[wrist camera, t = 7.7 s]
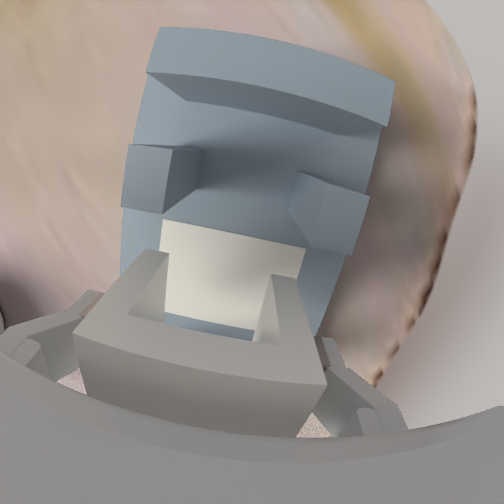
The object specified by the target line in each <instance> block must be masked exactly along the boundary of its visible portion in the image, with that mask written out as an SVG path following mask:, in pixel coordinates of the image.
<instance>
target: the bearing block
mask: <svg viewBox="0 0 504 504" xmlns="http://www.w3.org/2000/svg"><path fill="white" fill-rule="evenodd" d="M146 73H148V74H149V75H148V78H147V82H146V86H145V90H144V93H143V98H142V102H141V106H140V110H139V115H138V119H137V124H136V129H135V134H134V139H133V144H129V148H128V154H127V160H126V167H125V174H124V182H123V190H122V199H121V207H124V212H123V223H122V237H121V257H120V276H121V275H122V274H123V273H124V272H125V271H126V269H127V268H128V267H129V266H130V265H131V264H132V263H133V262H134V261H135V260H136V259H137V258H138V257H139V256H140V255H141V253H142V252H143V251H144V250H145V249H146V248H147V249H152V250H157V251H162V252H166V253H170V254H169V263H168V273H167V284H166V297H165V311H164V324H168V325H172V326H177V327H181V328H186V329H190V330H195V331H200V332H205V333H210V334H215V335H220V336H225V337H231V338H236V339H242V340H248V341H252V340H253V336H254V333H255V329H256V326H257V322H258V319H259V315H260V312H261V308H262V304H263V301H264V297H265V294H266V290H267V286H268V283H269V279H270V275H271V274H276V275H281V276H286V277H292V278H295V280H296V283H297V286H298V289H299V292H300V296H301V299H302V302H303V305H304V308H305V311H306V315H307V318H308V321H309V324H310V327H311V331H312V334H313V336H314V337H315V336H316V334H317V331H318V329H319V326H320V324H321V322H322V319H323V317H324V314H325V312H326V309H327V307H328V304H329V301H330V299H331V296H332V294H333V291H334V288H335V286H336V283H337V280H338V278H339V275H340V272H341V269H342V266H343V264H344V261H345V258H346V255H352V254H353V251H354V248H355V245H356V242H357V239H358V236H359V233H360V230H361V226H362V223H363V220H364V217H365V213H366V210H367V207H368V203H369V200H370V196H368V195H366V190H367V186H368V183H369V179H370V175H371V171H372V168H373V164H374V160H375V155H376V151H377V147H378V143H379V138H380V134H381V129H382V127H388V123H389V118H390V113H391V107H392V102H393V96H394V90H395V84H396V81H394V80H392V79H389V78H387V77H385V76H383V75H381V74H378V73H376V72H374V71H371V70H369V69H367V68H364V67H362V66H359V65H357V64H354V63H351V62H349V61H346V60H343V59H341V58H338V57H335V56H332V55H329V54H326V53H323V52H319V51H316V50H313V49H309V48H306V47H302V46H299V45H295V44H291V43H287V42H283V41H278V40H274V39H269V38H264V37H259V36H254V35H248V34H242V33H235V32H227V31H219V30H210V29H198V28H179V27H160V29H159V32H158V35H157V38H156V41H155V44H154V47H153V50H152V53H151V56H150V59H149V62H148V66H147V69H146Z"/></svg>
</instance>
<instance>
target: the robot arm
mask: <svg viewBox="0 0 504 504" xmlns="http://www.w3.org/2000/svg"><path fill="white" fill-rule="evenodd" d="M104 294H105V293H101V292H98V291H95V290H92V289H90V290H87V291H86V292H85V293H84V294H83V295H82V296H81V297H80V298H79V299H78V300H77V301H76V302H75V303H74V305H73V306H72V307H71V308H70V309H69V310H68V311H67V312H66V311H64V310H63V311H60V312H56V313H53V314H50V315H46V316H43V317H40V318H36V319H33V320H30V321H26V322H23V323H20V324H16V325H13V326H10V327H8V328H7V329H6V330H5V331H4V332H3V333H2V334H1V335H0V504H504V406H497V407H494V408H491V409H489V410H486V411H483V412H480V413H477V414H473V415H470V416H467V417H463V418H460V419H456V420H453V421H448V422H445V423H440V424H436V425H431V426H426V427H421V428H416V429H411V430H408V428H407V426H406V423H405V421H404V419H403V417H402V414H401V412H400V410H399V408H398V406H397V405H396V404H395V403H394V402H392V401H391V400H389V399H388V398H387V397H386V396H384V395H383V394H382V393H381V392H379V391H378V390H377V389H375V388H374V387H373V386H372V385H370V384H369V383H368V382H366V381H365V380H364V379H363V378H361V377H360V376H359V375H358V374H356V373H355V372H354V371H352V370H351V369H350V368H346V367H345V364H344V362H343V359H342V357H341V354H340V352H339V349H338V347H337V344H336V342H335V340H334V339H333V338H329V337H314V336H313V337H314V341H315V344H316V347H317V351H318V354H319V357H320V361H321V364H322V368H323V371H324V374H325V378H326V381H327V387H326V389H325V390H324V392H323V394H322V396H321V397H320V399H319V401H318V402H317V404H316V406H315V407H314V409H313V410H312V412H313V413H314V415H315V416H316V417H317V418H318V420H319V421H320V422H321V423H322V424H323V426H324V427H325V428H326V429H327V430H328V432H329V433H330V434H331V435H332V436H333V437H332V438H293V437H272V436H259V435H249V434H240V433H232V432H224V431H218V430H211V429H206V428H200V427H195V426H190V425H185V424H180V423H176V422H171V421H167V420H163V419H159V418H155V417H151V416H148V415H144V414H141V413H137V412H134V411H130V410H127V409H124V408H121V407H118V406H115V405H112V404H109V403H106V402H104V401H101V400H98V399H95V398H93V397H90V396H88V395H85V394H83V393H80V392H78V391H75V390H73V389H71V388H68V387H66V386H64V385H62V384H60V383H57V382H56V381H58V380H60V379H61V378H63V377H65V376H66V375H68V374H70V373H72V372H73V371H75V370H77V369H79V368H80V366H79V362H78V358H77V354H76V350H75V345H74V340H73V335H72V332H73V331H74V330H75V329H76V327H77V326H78V325H79V324H80V322H81V321H82V320H83V319H84V318H85V316H86V315H87V314H88V313H89V312H90V310H91V309H92V308H93V307H94V306H95V304H96V303H97V302H98V301H99V300H100V299H101V297H102V296H103V295H104Z"/></svg>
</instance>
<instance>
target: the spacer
mask: <svg viewBox="0 0 504 504" xmlns="http://www.w3.org/2000/svg"><path fill="white" fill-rule="evenodd" d="M169 254H170V253H166V252H162V251H157V250H152V249H147V248H146V249H145V250H144V251H143V252H142V253H141V255H140V256H139V257H138V258H137V259H136V260H135V261H134V262H133V263H132V264H131V265H130V266H129V267H128V268H127V269H126V271H125V272H124V273H123V274H122V275H121V276H120V277H119V278H118V279H117V280H116V282H115V283H114V284H113V285H112V286H111V287H110V288H109V289H108V291H107V292H106V293H105V294H104V295H103V296H102V297H101V299H100V300H99V301H98V302H97V303H96V304H95V306H94V307H93V308H92V309H91V310H90V312H89V313H88V314H87V315H86V316H85V318H84V319H83V320H82V321H81V322H80V324H79V325H78V326H77V327H76V329H75V330H74V331H73V332H72V335H73V340H74V345H75V350H76V354H77V358H78V362H79V366H80V370H81V374H82V378H83V381H84V385H85V388H86V392H87V395H88V396H90V397H93V398H95V399H98V400H101V401H104V402H106V403H109V404H112V405H115V406H118V407H121V408H124V409H127V410H130V411H134V412H137V413H141V414H144V415H148V416H151V417H155V418H159V419H163V420H167V421H171V422H176V423H180V424H185V425H190V426H195V427H200V428H206V429H211V430H218V431H224V432H232V433H240V434H249V435H259V436H272V437H293V438H295V437H296V435H297V434H298V432H299V431H300V429H301V428H302V426H303V425H304V423H305V422H306V420H307V418H308V417H309V415H310V414H311V412H312V410H313V409H314V407H315V406H316V404H317V402H318V401H319V399H320V397H321V396H322V394H323V392H324V390H325V389H326V387H327V381H326V378H325V374H324V371H323V368H322V364H321V361H320V357H319V354H318V351H317V347H316V344H315V341H314V337H313V334H312V331H311V327H310V324H309V321H308V318H307V315H306V311H305V308H304V305H303V302H302V299H301V296H300V292H299V289H298V286H297V283H296V280H295V278H292V277H286V276H281V275H276V274H271V275H270V279H269V283H268V286H267V290H266V294H265V297H264V301H263V304H262V308H261V312H260V315H259V319H258V322H257V326H256V329H255V333H254V336H253V340H252V341H248V340H242V339H236V338H231V337H225V336H220V335H215V334H210V333H205V332H200V331H195V330H190V329H186V328H181V327H177V326H172V325H168V324H164V311H165V297H166V284H167V273H168V263H169Z"/></svg>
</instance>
